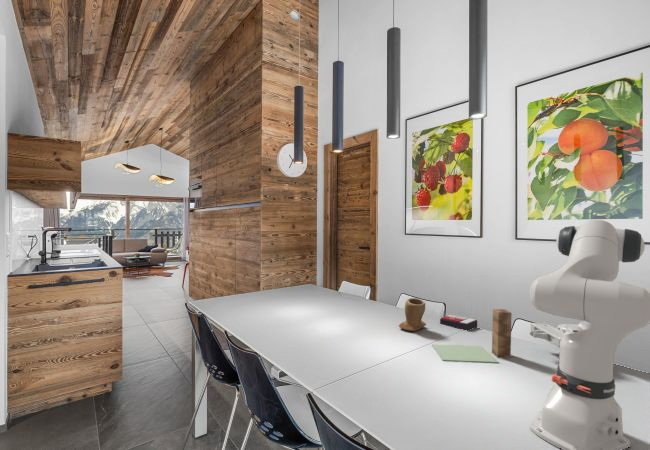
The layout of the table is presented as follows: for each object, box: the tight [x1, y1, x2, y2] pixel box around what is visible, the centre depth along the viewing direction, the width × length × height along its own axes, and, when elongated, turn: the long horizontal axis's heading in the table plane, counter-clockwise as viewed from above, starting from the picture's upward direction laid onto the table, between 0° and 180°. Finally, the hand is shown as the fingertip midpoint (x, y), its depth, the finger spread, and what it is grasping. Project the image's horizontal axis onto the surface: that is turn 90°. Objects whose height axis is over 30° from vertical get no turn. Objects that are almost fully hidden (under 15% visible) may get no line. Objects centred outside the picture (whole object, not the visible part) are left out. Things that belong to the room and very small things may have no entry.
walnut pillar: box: [491, 308, 513, 359], centre depth 133 cm, size 5×5×18 cm
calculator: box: [439, 314, 478, 332], centre depth 172 cm, size 11×4×15 cm
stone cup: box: [398, 297, 427, 332], centre depth 165 cm, size 15×12×15 cm
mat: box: [431, 343, 500, 364], centre depth 134 cm, size 21×16×1 cm
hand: (531, 334), depth 132 cm, fingers closed
